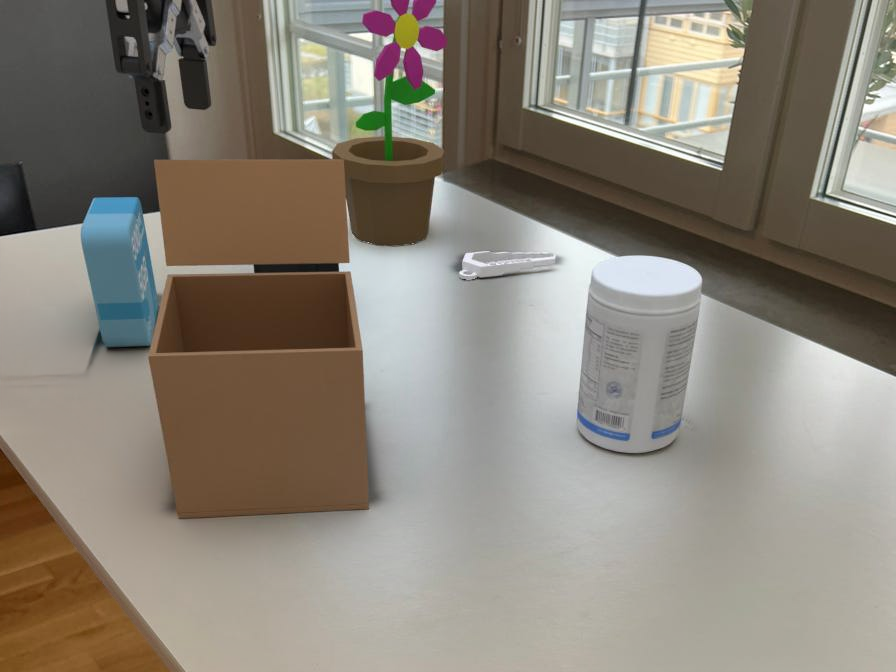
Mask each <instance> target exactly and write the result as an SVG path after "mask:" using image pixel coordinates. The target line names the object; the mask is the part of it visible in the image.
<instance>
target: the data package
mask: <svg viewBox="0 0 896 672" xmlns="http://www.w3.org/2000/svg"><path fill="white" fill-rule="evenodd" d="M80 242H81V249H82V253H83V257H84V262H85V265H86V272H87V275H88V280H89V285H90V290H91V294H92V295H91V296H92V299H93V303H94V304H93V305H94V308H95V313H96V317H97V323H98V327H99V331H100V336H101V340H102V342H103V345H104V346H105V347H106V348H125V347H149V346H151V342H152V338H153V334H154V330H155V326H156V321H157V317H158V313H159V302H158V301H159V300H158V294H157V293H158V292H157V288H156V281H155V275H154V270H153V265H152V264H153V263H152V258H151V253H150V246H149V241H148V236H147V230H146V224H145V219H144V212H143V207H142V204H141V200H140V198H139V197H138V196H137V197H136V196H127V197H125V196H122V197H121V196H120V197H119V196H118V197H117V196H116V197H94V198H93V199H92V201H91V202H90V205H89V208H88V209H87V213H86V216H85V218H84V219H83V222H82V225H81V227H80Z"/></svg>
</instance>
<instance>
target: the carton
mask: <svg viewBox="0 0 896 672" xmlns="http://www.w3.org/2000/svg"><path fill="white" fill-rule="evenodd" d="M166 275H167V276H166V279H165V284H164V288H163V291H162V297H161V300H160V305H159V308H158V312H157V317H156V322H155V327H154V332H153V337H152V342H151V345H150V347H149V351H148V355H147V357H148V363H149V370H150V375H151V379H152V384H153V385H152V386H153V390H154V395H155V400H156V401H155V402H156V406H157V411H158V416H159V421H160V422H159V423H160V428H161V433H162V438H163V444H164V449H165V454H166V460H167V466H168V471H169V476H170V481H171V486H172V491H173V492H172V493H173V498H174V503H175V508H176V513H177V518H178V519H196V518H214V517H215V518H216V517H234V516H236V517H237V516H253V515H254V516H255V515H275V514H294V513H295V514H297V513H312V512H333V511H352V510H354V511H355V510H369V509H370V497H369V495H370V493H369V473H368V472H369V471H368V470H369V469H368V450H367V449H368V447H367V445H368V444H367V422H366V399H365V397H366V396H365V378H364V377H365V373H364V370H365V369H364V353H363V352H364V350H363V343H362V337H361V330H360V329H361V328H360V324H359V317H358V316H359V315H358V310H357V304H356V298H355V297H356V296H355V290H354V285H353V284H354V283H353V278H352V272H351V271H339V272H288V273H254V272H240V273H237V272H236V273H234V272H233V273H179V274H171V273H170V274H166Z"/></svg>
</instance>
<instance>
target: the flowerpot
mask: <svg viewBox="0 0 896 672" xmlns="http://www.w3.org/2000/svg"><path fill="white" fill-rule="evenodd" d="M389 1H390V5H391V7H392V9H393V10H394V12H396V14H397V15H398V17H396V20H394V18H393V17H392V15H391V14H389V13H387V12H383V11H380V10H376V9H373V10H370V11H367V12H365V13H363V14H362V21H361V24H362V25H363V26H364V27H365V28H366V29H367V31H368V32H369V33H370V34H374V35H376V36H377V35H378V36H380V37H385V38H388V37H389V36H391V35H393V38H392V41H391V42H390V43H388V44H386V45H384V47H383V49H382V50H381V51H380V53H379V55H378V56H377V57H376V60H375V67H374V73H373V77H374V78H375V79H376V80H377V81H378V82H380V81H382V80H385V81H384V92H383V111H378V110H372V111H368V112H366V113H363V114H362V115H361V116H360V117H359V118H358V119H357V120H356V121H355V128H357V129H360V130H363V131H366V132H368V131H369V132H370V131H377V130H379V129H382V128H383V127H384V136H382V135H380V136H369V137H367V136H366V137H356V138H352V139H349V140H346V141H342V142H339V143H336V145H335V146H334V148H333V149H332V150H331V158H332V159H331V160H344V174H345V191H346V208H347V214H348V218H349V225H350V230H351V235H352V234H353V235H354V236H355V237H354V236H353V235H352V236H353V237H354V238H355V239H357V240H358V239H359V240H361V241H360V242H362V241H365V242H364V243H366V242H369V243H368V244H370V243H372V244H371V245H373V244H379V245H378V246H384V245H401V246H405V245H404V244H409V245H413V244H412V243H415V244H417V243H419V242H418V241H420V242H422V241H424V240H426V239H427V237H428V234H429V229H430V228H429V227H430V222H431V212H432V204H433V196H434V189H435V180H436V178H437V177H439V176H441V175H442V174H443V171H444V168H445V149H444V148H442V147H441V146H439V145H438V144H435V143H434V142H431V141H426V140H421V139H418V138H417V139H416V138H412V137H399V136H393V122H392V121H393V117H392V111H393V110H392V101H394V102H397V103H398V104H401V105H404V106H408V105H413V104H418V103H421V102H423V101H425V100H426V99H428V98H431V97H432V96H434V95H435V94H436V89H435V88H434V87H432V86H431V85H430V84H428V83H427V82H425V81H424V80H423V78H424V73H425V72H424V67H423V62H422V57H421V54H420V53H419V52H418V50H417V49H416V48H415V44H416V43H417V42H418V44H419V45H420V47H421V48H424V49H427V50H430V51H433V52H439V51H440V50H443V49H446V48H447V46H448V37H447V36H446V35H445V34H444V32H443V31H442V29H440V28H436V27H432V26H429V25H423V26H422V27H419V21H422V20H424V19H426V18H428V17H429V15H430V13H431V12H432V11H433V9H434V7H435V6H436V4H437V0H413V1H412V7H411V8H412V9H411V13H408V10H409V4H410V0H389ZM402 49H404V50H405V51H404V56H403V58H402V64H403V70H404V74H405V75H404V76H402V77H400V78H397V79H395V80H394V75H395V74H394V73H395V69H396V67H397V66H398V64H399V63H400V61H401V52H402V51H401V50H402ZM425 238H426V239H425ZM423 239H424V240H423ZM359 240H358V241H359ZM421 240H422V241H421ZM416 242H417V243H416Z"/></svg>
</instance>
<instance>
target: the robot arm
mask: <svg viewBox="0 0 896 672" xmlns="http://www.w3.org/2000/svg"><path fill="white" fill-rule="evenodd" d="M105 6H106V13H107V21H108V27H109V34H110V40H111V48H112V54H113V62H114V68H115V71H116V72H117V73H118V74H122V75H128V77H129V78H130V79H133V82H134V87H135V92H136V99H137V105H138V111H139V118H140V125H141V127H142V129H143V131H145V132H146V133H152V134H162V135H163V134H167V133H169V132H170V131H171V130H172V120H171V113H170V105H169V99H168V92H167V86H166V80H165V79H164V75H165V68H166V67H165V66H166V57H167V54H168V53H171V52H172V51H173V49H175V51H176V54H177V56H178V57H179V58H178V59H177V60H178V68H179V75H180V76H179V77H180V83H181V91H182V98H183V104H184V106H185V107H186V108H187V109H189V110H199V111H206V110H207V109H209V108H211V106H212V97H211V89H210V79H209V72H208V71H209V70H208V63H207V60H208V59H209V57H210V51H211V50H210V47H216V45H217V32H216V25H215V17H214V9H213V2H212V0H105ZM126 42H127V43H128V52H127V47H126Z"/></svg>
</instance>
